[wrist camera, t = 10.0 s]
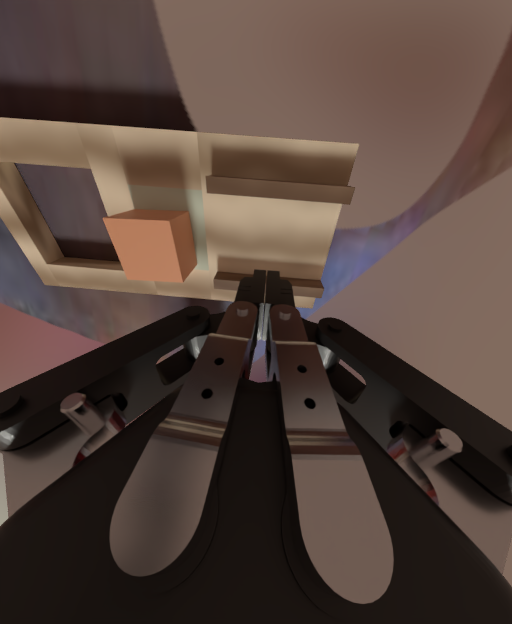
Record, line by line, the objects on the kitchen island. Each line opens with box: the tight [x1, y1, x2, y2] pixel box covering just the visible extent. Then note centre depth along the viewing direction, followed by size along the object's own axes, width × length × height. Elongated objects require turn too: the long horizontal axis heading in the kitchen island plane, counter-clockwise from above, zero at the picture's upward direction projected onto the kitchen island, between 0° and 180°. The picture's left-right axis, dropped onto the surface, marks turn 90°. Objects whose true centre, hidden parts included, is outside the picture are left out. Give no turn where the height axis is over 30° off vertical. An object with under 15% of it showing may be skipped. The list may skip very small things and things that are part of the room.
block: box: [103, 209, 197, 283], centre depth 19 cm, size 6×6×4 cm
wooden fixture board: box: [0, 117, 359, 308], centre depth 21 cm, size 16×35×4 cm, turn 86°
